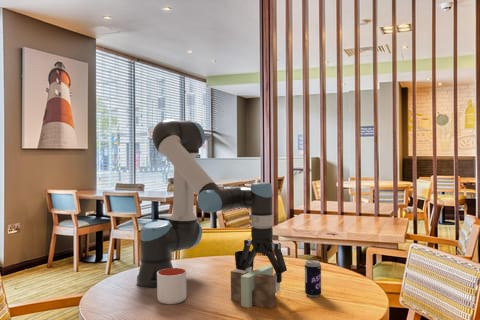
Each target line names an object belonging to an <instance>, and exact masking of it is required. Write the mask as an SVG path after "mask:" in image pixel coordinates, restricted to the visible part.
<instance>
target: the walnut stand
mask: <svg viewBox="0 0 480 320" xmlns="http://www.w3.org/2000/svg"><path fill="white" fill-rule="evenodd" d="M247 273H249V271H244V270H239V269H236V268H234V269H232V270H231V271H230V300H231V301H235V302H240V303H241V276H242V275H245V274H247ZM253 305H254V306H257V307H261V308H266V309H269V310H270V309H273V308H274V307H276V293H275V276H274V275H273V276H272V275H266V274H259V275H257V276H256V289H255V290H253V291H252V306H253Z"/></svg>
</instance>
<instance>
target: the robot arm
mask: <svg viewBox="0 0 480 320" xmlns="http://www.w3.org/2000/svg"><path fill="white" fill-rule="evenodd" d="M151 135H152V136H151V137H152V144H153V145H154V148H155V149H156V150H157V152H158V153H159V154H160V155H161V156H163V157H164V156H165V157H166V158H167V160H168V161H169V162H170V163H171V165H172V166H173V196H172V197H173V199H172V200H173V202H172V213H171V215H169V217H168V221H167V220H159V221H151V222H147V223H145V224H144V225H143V226H142V227H141V228H140V237H139V238H140V259H141V261H140V266H139V269H138V274H137V277H136V284H137V285H138V286H140V287H144V288H157V272H158V271H160V270H162V269H167V268H174V267H173V263H172V256H171V255H172V253H174V252H178V251H183V250H188V249H189V250H190V249H192V248H194V247H196V246H197V245H198V244H199V243H200V241H201V240H202V237H203V228H202V226H201V222H199V220H198V217H197V216H196V215H195V213H194V209H195V208H194V206H195V204H194V203H195V202H194V201H195V200H194V199H195V194H196V195H197V200H196V201H197V204H198V208H199V209H200V211H202V212H204V213H217V212H220V211H227V210H234V209H248V210H249V209H250V220H251V221H250V225H251V228H250V229H251V230H250V232H251V233H250V234H251V235H250V237H251V239H250V238H247V239H244V240H243V249H242V251H243V252H242V255H241V259H240V262H239V265H240V266H243V267H244V271H249V272H251V271H252V267H249V266H250V264H251V263H252V261H253V259H254V260H255V258H256V256H257V255H258V254H263V255H265V256H266V257H267V258H268V261H269V262H270V264H271V266H273V271H275V272H273V276H275V294H277V293H278V292H280V291H281V283H282V279H283V278H282V277H283V273H285V272H287V271H288V268H287V265H286V263H285V262H286V261H285V259H284V255H283V252H282V247H281V246H282V244H281V243H280V242H274V241H273V235H274V233H273V232H274V231H273V229H274V228H273V227H272V226H273V222H274V220H273V196H274V195H273V187H272V183H270V182H267V181H266V182H264V181H262V182H259V181H258V182H252V183H251V184H250V187H244V186H243V187H242V186H228V187H227V188H220V187H219V186H218V184H216V182H215V181H214V180H213V179H212V178H211V177H210V176H209V174H208V172H206V171H205V170H204V168H203V167H202V166H201V165H200V164H199V163H198V161H197V160H196V157H197V156H198V155H199V153H200V149H201V148H202V147H203V146H204V144H205V142H206V133H205V130H204V127H203V126H202V125H201V124H200V123H198V122H197V121H193V120H183V119H182V120H180V119H164V120H161V121H160V122H158V123H157V124H156V125H155V126H154V128H153V131H152V134H151ZM251 246H252V249H251ZM250 249H251V250H250ZM249 251H251V253H250V255H249V257H248V258H247V256H248V253H249Z"/></svg>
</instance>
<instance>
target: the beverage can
mask: <svg viewBox="0 0 480 320" xmlns="http://www.w3.org/2000/svg"><path fill="white" fill-rule="evenodd" d="M304 293H305V295H306V296H308V297H310V298H318V297H320V295H321V294H322V265H321V261H319V260H316V259H308V260H305V263H304Z"/></svg>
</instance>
